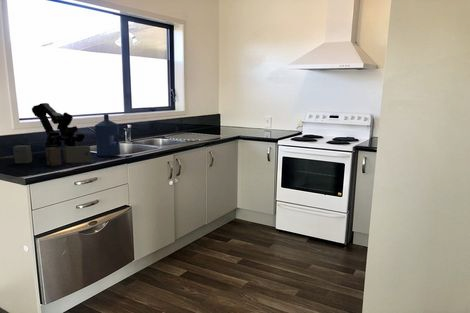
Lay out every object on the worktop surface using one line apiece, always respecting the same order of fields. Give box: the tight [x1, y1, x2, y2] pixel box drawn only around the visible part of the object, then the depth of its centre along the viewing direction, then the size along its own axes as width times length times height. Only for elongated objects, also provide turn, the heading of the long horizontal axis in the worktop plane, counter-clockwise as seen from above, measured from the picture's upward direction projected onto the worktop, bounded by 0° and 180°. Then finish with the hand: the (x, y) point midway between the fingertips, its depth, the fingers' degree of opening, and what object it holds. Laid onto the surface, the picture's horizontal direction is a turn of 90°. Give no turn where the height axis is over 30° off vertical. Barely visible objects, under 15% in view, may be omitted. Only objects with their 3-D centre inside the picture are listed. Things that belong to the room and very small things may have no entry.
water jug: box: [94, 113, 121, 157], centre depth 251 cm, size 16×16×28 cm
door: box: [62, 145, 92, 164], centre depth 224 cm, size 16×3×10 cm, turn 98°
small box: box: [12, 144, 33, 164], centre depth 226 cm, size 8×6×10 cm
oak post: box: [45, 147, 62, 167], centre depth 220 cm, size 7×6×10 cm
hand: (74, 149), depth 231 cm, fingers closed
